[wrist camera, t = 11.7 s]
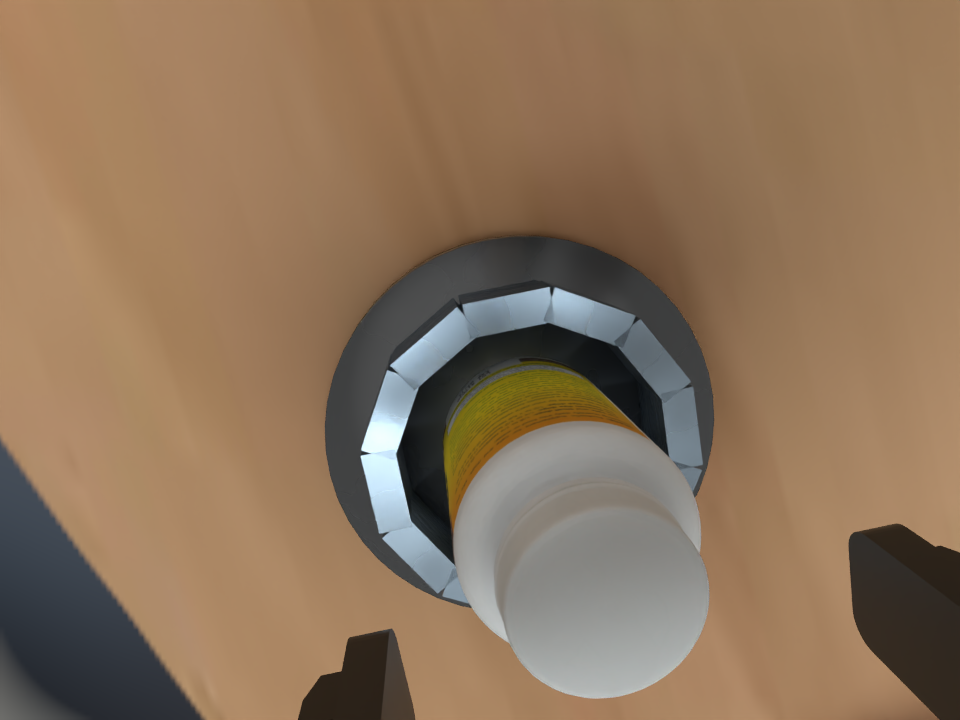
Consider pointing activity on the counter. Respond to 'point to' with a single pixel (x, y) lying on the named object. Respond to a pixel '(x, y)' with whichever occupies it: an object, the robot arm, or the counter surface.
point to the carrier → (478, 345)
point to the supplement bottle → (572, 530)
